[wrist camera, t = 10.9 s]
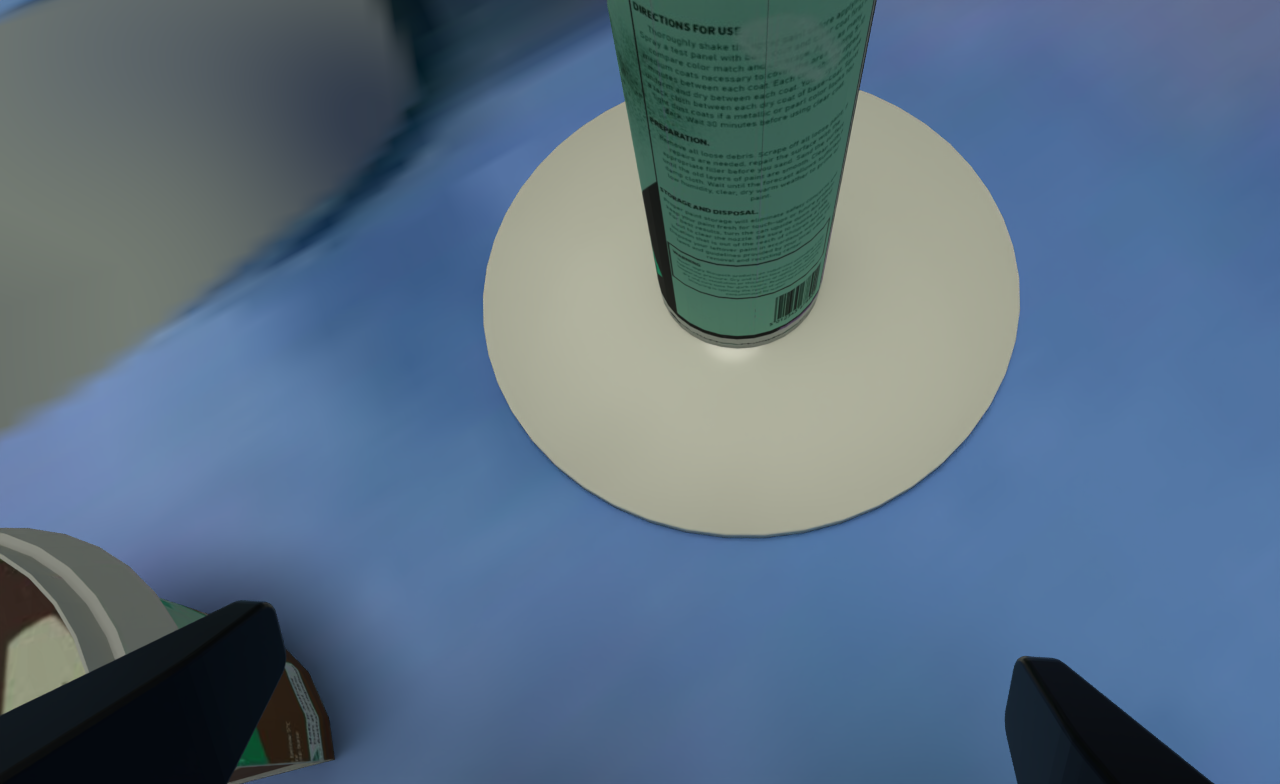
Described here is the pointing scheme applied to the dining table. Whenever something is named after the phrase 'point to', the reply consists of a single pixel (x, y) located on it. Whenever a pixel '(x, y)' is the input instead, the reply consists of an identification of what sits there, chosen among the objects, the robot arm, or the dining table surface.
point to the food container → (123, 641)
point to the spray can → (740, 150)
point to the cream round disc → (764, 375)
